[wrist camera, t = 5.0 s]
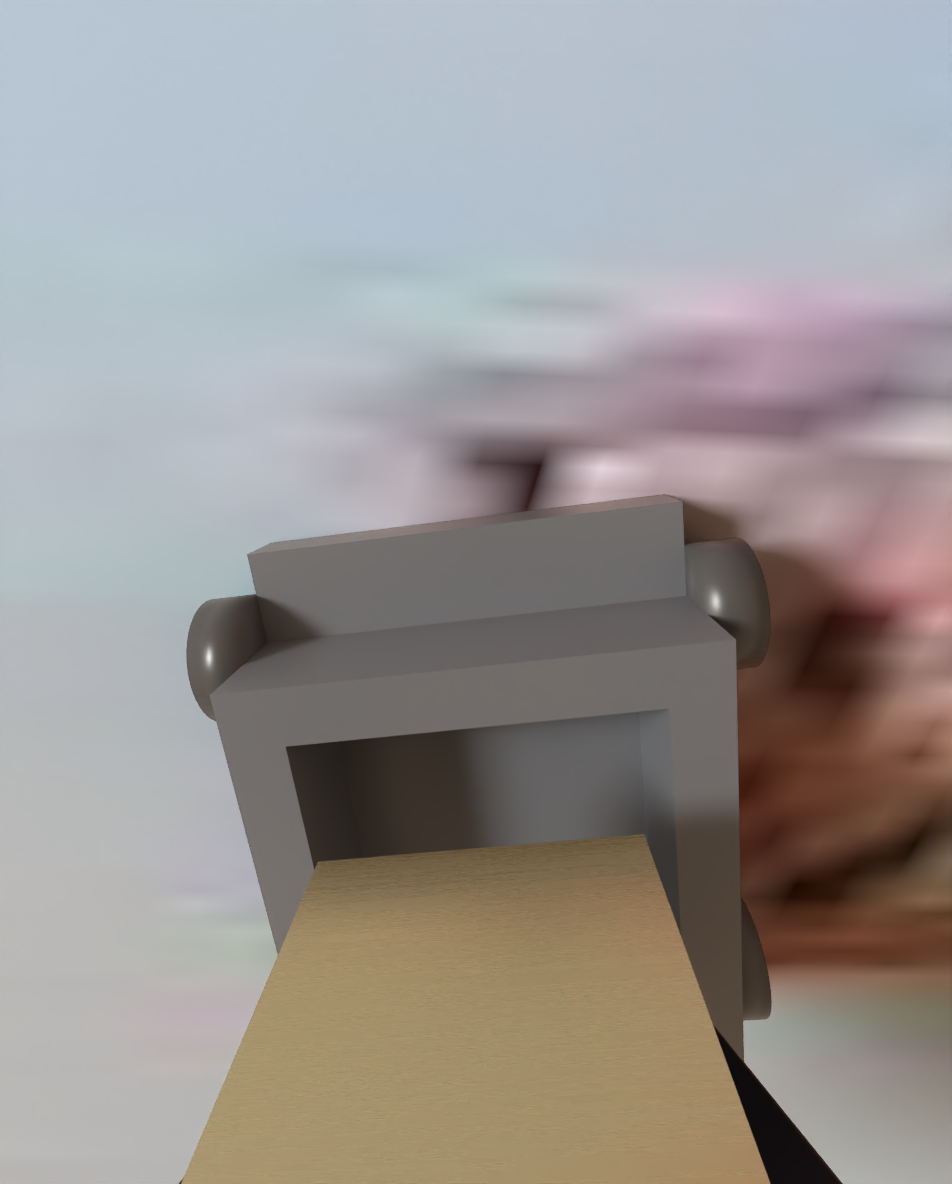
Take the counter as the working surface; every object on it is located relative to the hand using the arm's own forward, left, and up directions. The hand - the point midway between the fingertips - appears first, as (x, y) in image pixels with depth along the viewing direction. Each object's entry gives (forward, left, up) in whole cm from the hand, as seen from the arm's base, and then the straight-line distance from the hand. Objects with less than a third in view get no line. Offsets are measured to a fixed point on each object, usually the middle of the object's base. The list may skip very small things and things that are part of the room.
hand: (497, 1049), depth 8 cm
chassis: (0, 0, -6) cm, 6 cm away
